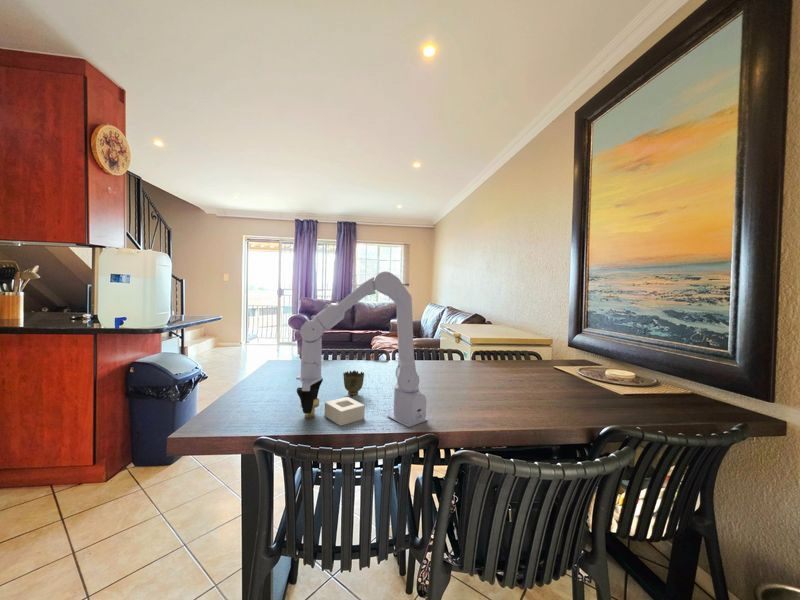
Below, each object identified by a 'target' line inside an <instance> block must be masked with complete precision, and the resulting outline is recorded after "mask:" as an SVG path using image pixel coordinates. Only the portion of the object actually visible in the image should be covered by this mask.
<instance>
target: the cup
mask: <svg viewBox="0 0 800 600" xmlns="http://www.w3.org/2000/svg"><path fill="white" fill-rule="evenodd" d="M342 374H343V384H344V389H345V390H346V391H347V394H348V397H349V396H350V397H357V396H358V395H359V391H361V389H362V388H363V386H364V385H363V384H364V381H365V372H363V371H360V373H359V371H358V370H355V369H354V370H353V371H352V370H350V371H345V372H344V373H342Z"/></svg>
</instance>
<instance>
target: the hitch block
mask: <svg viewBox="0 0 800 600" xmlns="http://www.w3.org/2000/svg"><path fill="white" fill-rule="evenodd" d="M365 407H366V405H365V404H363V403H361V402H359V401H358V400H355V399H354V398H351V397H349V396H346V397H345V396H344V397H342V398H341V397H340V398H337V399H331V400H328V401H325V402H324V414H323V415H324V416H325V417H326V418H327V419H329V420H330V421H332V422H334V423H335V424H337V425H339V426H341V427H342V426H345V425H348V424H352V423H355V422H357V421H361V420H364V419H365Z"/></svg>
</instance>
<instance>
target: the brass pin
mask: <svg viewBox="0 0 800 600" xmlns="http://www.w3.org/2000/svg"><path fill="white" fill-rule="evenodd" d="M319 406H320V398H318V397H317V398H314V402H313V408H312V412H311V413H304V419H306V420H313V419H314V418H315V410H316V408H318V407H319ZM300 407H301V408H302V404H301V403H300Z"/></svg>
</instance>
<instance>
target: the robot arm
mask: <svg viewBox="0 0 800 600" xmlns="http://www.w3.org/2000/svg"><path fill="white" fill-rule="evenodd" d="M404 285H405V284H403V282H402V281H401V279H400V278H399V277H398V276H397V275H394V274H393V273H392V272H390V271H381V272H379V273H378V274H377V275H375V276H373V277H371V278H369V279H367V280H366V281H365V282H363V283H361V284H360V285H358V287H357V288H355V289H354V290H353V291H352V292H350V293H349V294H348V295H347V296H345V297H344V298H343V299H342V300H341V301H340V302H337V303H336V302H331V303H330V304H328V303H326V304H325V305H323V309H321V310H320V311H319V312H318V313H317V314H313V315H311V316H310V318H311V320H306V321H305V322H304V323H303V324H302V325H301V327H300V330H299V334H300V337H301V338H302V340H301V352H300V358H301V360H300V375H297V376H296V378H295V379H296V380H297V381H298V380H299V381H300V384H302V385H301V387H300V386H299V387H297V388H296V393H297V395H298V397H299V400H300V405H301V404H302V407H301V408H302V412H303V414H305V413H311V412H312V408H313V402H314V398H318V396H319V390H320V387H321V385H322V383H323V381H324V378H322V377H323V376H322V360H323V359H322V355H323V353H322V352H323V351H322V350H323V344H322V343H323V340H322V339H323V338H322V337H323V336H324V333H325V332H328V331H330V330H331V329H333V328H334V326H336V325H338V323H340V322H341V321H342V320H344V319H345V313H346V312H347V311H348V310H349V309H351V307H353V306H354V305H356V304H357V303H358V302H360V301H361V300H363V299H364V298H365V297H367V296H372V295H376V294H377V292H379V294H382V295H384V296H387V297H388V298H389V299H391V300H392V301H393V302H394V303H395V305H396V323H397V324H396V326H397V327H396V328H397V351H398V352H397V356H398V358H397V359H398V360H397V361H398V362H397V367H396V369H395V378H396V379H397V381H396V384H395V385H394V388H393V389H394V395H393V397H394V398H393V412H392V413H389V414H387V415H386V417H388V418H390V419H392V420H393V421H395V422H398V423H399V424H401V425H404V426H405V427H407V428H410V427H413V426H416V425H419V424H421V423H424V422H427V421H428V418H427V417H426V416H427V397H426V395H425V394H424V393H422V392H421V391H420V389H419V387H420V386H419V384H420V376H419V375H418V373H417V370H416V369H417V367H416V361H415V350H414V349H415V348H414V347H415V346H414V323H413V320H414V319H413V298H412V295H411V294H410V292H409V290H407V288H406V287H405V286H404ZM376 291H377V292H376Z"/></svg>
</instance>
